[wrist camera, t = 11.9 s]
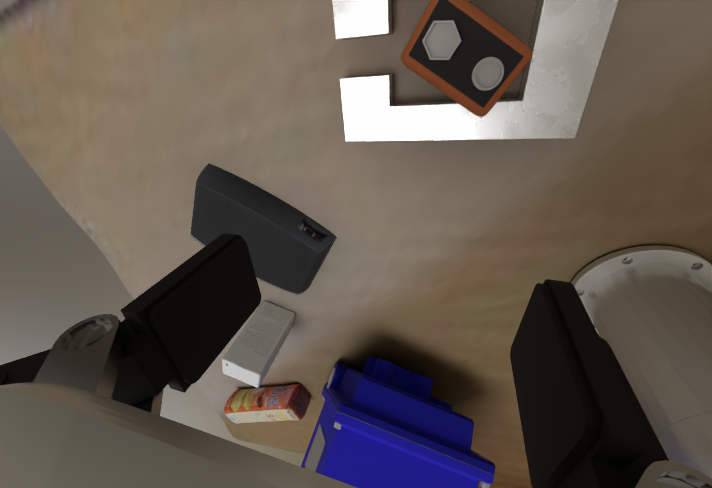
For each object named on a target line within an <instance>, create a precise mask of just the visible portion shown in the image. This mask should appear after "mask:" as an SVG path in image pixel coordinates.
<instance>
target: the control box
mask: <svg viewBox="0 0 712 488" xmlns="http://www.w3.org/2000/svg"><path fill="white" fill-rule="evenodd" d="M432 384H433V380H431V379H429V378H426V377H424V376H421V375H418V374H416V373H413V372H410V371H408V370H406V369H403V368H401V367H398V366H396V365H394V364H392V363H390V362H388V361H386V360H383V359H380V358H377V359H375V358H372V357H369V356H368V359H367V361H366V364H365V367H364V369H363V372H362V373H361V372H360V371H358V370H356V369H353V368H351V367H349V366H346V365H344V364H342V363H339V362H337V363H336V364H335V366H334V368H333V370H332V373H331V375H330V377H329V380H328V382H327V383H326V384H325V386H324V389H323V391H322V399H323V400H325V403H324V406H323V408H322V411H321V414H320V416H319V419H318V422H317V425H316V427H315V430H314V433H313V435H312V438H311V441H310V443H309V446H308V449H307V451H306V454H305V457H304V460H303V462H302V465H301V467H302V468H305V469H308V470H311V471H313V472H316V473H319V474H322V475H324V476H327V477H330V478H332V479H335V480H338V481H341V482H343V483H346V484H349V485H351V486H354V487H357V488H478V483H479V481H481V486H482V487H483V488H489V485H490V484H492V483H493V479H494V472H495V465H494V463H492V462H491V461H489V460H488V459H486V458H485V457H483V456H481V455H480V454H478V453H476V452H475V451H473V450H471V443H472V435H473V427H474V423H473V421H472V419H469V418H467V417H465V416H463V415H461V414H458V413H456V412H454V411H452V405H450V404H448V403H446V402H443V401H441V400H439V399H436V398H434V397H431V396H430V392H431V388H432Z"/></svg>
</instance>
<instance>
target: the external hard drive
mask: <svg viewBox="0 0 712 488" xmlns="http://www.w3.org/2000/svg"><path fill="white" fill-rule="evenodd" d="M223 233H229V234H236V235H240V236H242V238H243V240H245V241H246V243H247V246H248V250H249V253H250V257H251V261H252V264H253V268H254V271H255V275H256V279H259V280H261V281H263V282H265V283H267V284H269V285H272V286H274V287H276V288H279V289H281V290H284V291H286V292H289V293H292V294H295V295H299V294H301V293H303V292H304V291H306V290H307V289H308V288H309V287H310V285H311V283H312V281H313V279H314V277H315V276H316V273H317V272H318V270H319V268H320V266H321V265H322V263H323V261H324V259H325V257H326V255H327V254H328V252H329V250H330V248H331V247H332V245H333V243H334V241H335V239H336V237H335V236H334V235H333V234H332V233H331V232H329V231H328V230H327V229H325V228H324V227H322V226H321V225H320V224H318V223H317V222H315V221H314V220H312V219H311V218H309V217H308V216H306V215H304V214H303V213H301V212H300V211H298V210H297V209H295V208H293V207H292V206H290V205H289V204H287V203H285V202H283V201H282V200H280V199H278V198H277V197H275V196H273V195H272V194H270V193H268V192H266V191H264V190H262V189H261V188H259V187H257V186H255V185H253V184H251V183H249V182H247V181H245V180H244V179H242V178H239V177H237V176H235V175H233V174H231V173H229V172H227V171H225V170H222V169H220V168H218V167H216V166H214V165H211V164H208V165H207V166H206V167H205V168H204V169H203V171H202V172H201V174H200V175H199V177H198V179H197V181H196V190H195V199H194V209H193V218H192V226H191V234H190V235H191V237H192V238H194V239H195V240H196V241H197V242H199V243H200V244H201V245H203V246H204V247H205V246H207V245H208V244H209V243H211V242H212V241H213V240H215V239H216V238H217V237H219V236H220V235H221V234H223Z"/></svg>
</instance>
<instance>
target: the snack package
mask: <svg viewBox="0 0 712 488" xmlns="http://www.w3.org/2000/svg"><path fill="white" fill-rule="evenodd" d="M309 403H310V394H309V393H308V391H307V390H306V389H305V388H304V387H303V386H301V385H300V384H293V385H286V386H272V387H261V388H251V389H238V390H237V391H235V392H234V393H233V394H232V395H231V396H230V398H229V399H228V401H227V403H226V405H225V414H226V415H227V417H228V418H229V419H230V420H231V421H232V422H234V423H247V422H267V421H285V420H301V419H302V418H303V417H304V415H305V413H306V410H307V408H308V406H309Z"/></svg>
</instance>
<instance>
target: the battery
mask: <svg viewBox="0 0 712 488" xmlns="http://www.w3.org/2000/svg"><path fill="white" fill-rule="evenodd" d="M532 55H533V53H532V50H531V48H530V47H529V46H528V45H526V44H525V43H524V42H523V41H521V40H520V39H519V38H517V37H516V36H514V35H513V34H512V33H510V32H509V31H508V30H506V29H505V28H504V27H502V26H501V25H500V24H498V23H497V22H496V21H494V20H493V19H492V18H490V17H489V16H487V15H486V14H485V13H483V12H482V11H481V10H479V9H478V8H477V7H475V6H474V5H473V4H471V3H470V2H469V1H467V0H431V1H430V3H429V5H428V6H427V8H426V10H425V12H424V14H423V16H422V17H421V19H420V21H419V23H418V25H417V27H416V29H415V30H414V32H413V34H412V36H411V38H410V40H409V41H408V43H407V45H406V47H405V49H404V51H403V53H402V55H401V60H402V63H403V64H404V65H405V66H406V67H408V68H409V69H410V70H412V71H413V72H415V73H416V74H417V75H419V76H420V77H422V78H423V79H425V80H426V81H427V82H429V83H430V84H432V85H433V86H435V87H436V88H437V89H439V90H440V91H442V92H443V93H444V94H446V95H447V96H449V97H450V98H452V99H453V100H454V101H456V102H457V103H459V104H460V105H462V106H463V107H464V108H466V109H467V110H469V111H470V112H472V113H473V114H475V115H476V116H479V117H483V116H485V115H487V113H488V112H489V111H490V110H491V109H492V107H493V106H494V105H495V104H496V102H497V101H498V100H499V99H500V98H501V96H502V95H503V94H504V93H505V91H506V90H507V89H508V88H509V86H510V85H511V84H512V83H513V81H514V80H515V79H516V78H517V76H518V75H519V74H520V73H521V71H522V70H523V69H524V68H525V66H526V65H527V64H528V63H529V61H530V60H531V58H532Z"/></svg>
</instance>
